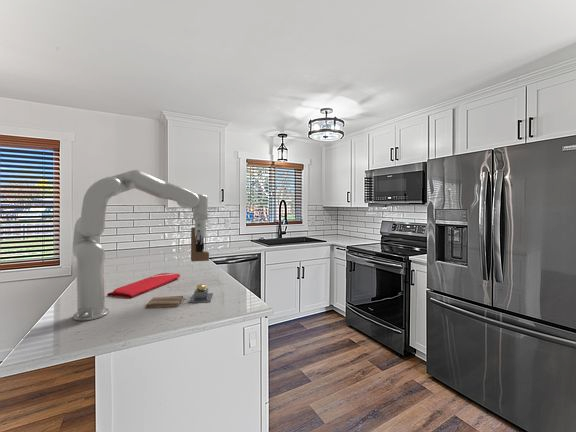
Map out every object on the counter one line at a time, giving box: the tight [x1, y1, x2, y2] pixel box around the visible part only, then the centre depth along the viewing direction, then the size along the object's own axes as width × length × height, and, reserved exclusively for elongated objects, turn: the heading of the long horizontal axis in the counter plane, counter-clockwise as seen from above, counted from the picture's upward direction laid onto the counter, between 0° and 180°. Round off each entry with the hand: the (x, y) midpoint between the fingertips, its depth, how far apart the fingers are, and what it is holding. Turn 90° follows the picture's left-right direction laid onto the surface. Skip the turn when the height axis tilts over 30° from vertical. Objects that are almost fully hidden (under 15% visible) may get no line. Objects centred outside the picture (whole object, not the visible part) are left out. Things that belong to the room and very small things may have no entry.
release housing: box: [188, 287, 214, 304], centre depth 146 cm, size 12×10×4 cm
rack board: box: [145, 295, 184, 309], centre depth 139 cm, size 11×14×2 cm
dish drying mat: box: [107, 272, 181, 299], centre depth 167 cm, size 16×41×4 cm, turn 166°
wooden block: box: [190, 226, 210, 262], centre depth 157 cm, size 9×4×18 cm, turn 112°
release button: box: [196, 283, 207, 291], centre depth 145 cm, size 4×4×2 cm
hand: (200, 250), depth 157 cm, fingers closed on wooden block, 4 cm apart
